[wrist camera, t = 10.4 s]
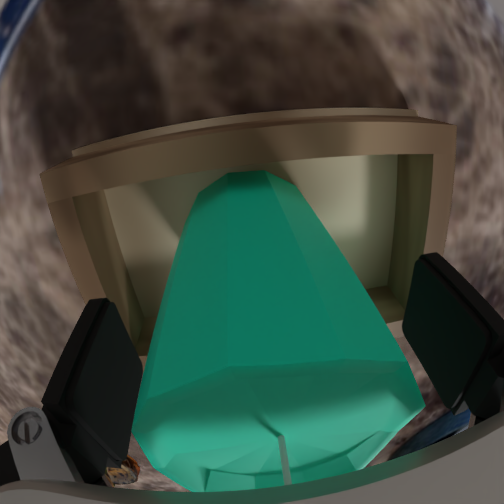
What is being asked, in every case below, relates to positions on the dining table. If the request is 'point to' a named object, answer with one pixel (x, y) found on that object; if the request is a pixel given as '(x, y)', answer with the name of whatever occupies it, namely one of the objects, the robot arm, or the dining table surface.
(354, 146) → the tray
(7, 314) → the dining table surface
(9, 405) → the dining table surface
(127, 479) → the plate of food
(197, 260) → the candle
